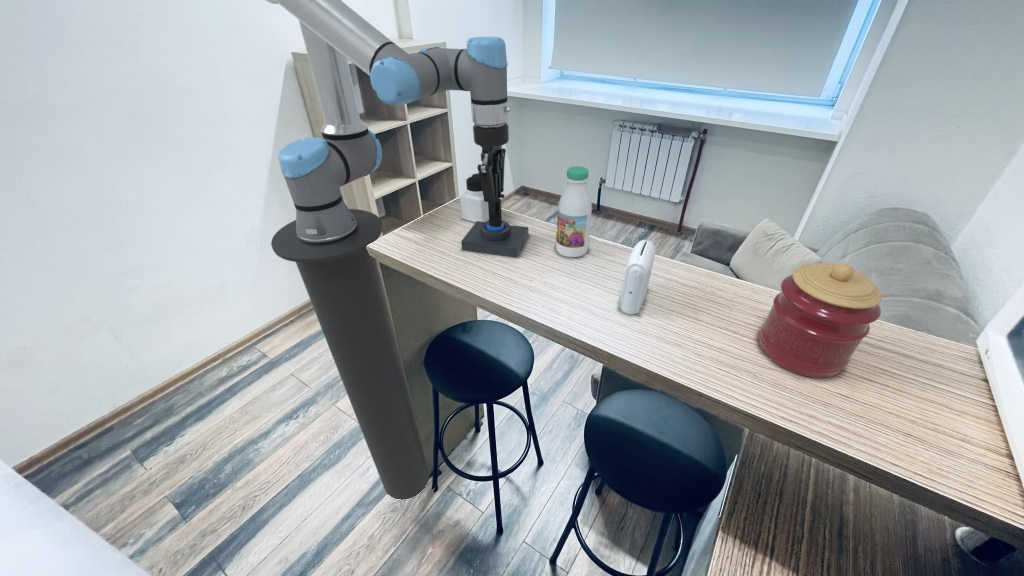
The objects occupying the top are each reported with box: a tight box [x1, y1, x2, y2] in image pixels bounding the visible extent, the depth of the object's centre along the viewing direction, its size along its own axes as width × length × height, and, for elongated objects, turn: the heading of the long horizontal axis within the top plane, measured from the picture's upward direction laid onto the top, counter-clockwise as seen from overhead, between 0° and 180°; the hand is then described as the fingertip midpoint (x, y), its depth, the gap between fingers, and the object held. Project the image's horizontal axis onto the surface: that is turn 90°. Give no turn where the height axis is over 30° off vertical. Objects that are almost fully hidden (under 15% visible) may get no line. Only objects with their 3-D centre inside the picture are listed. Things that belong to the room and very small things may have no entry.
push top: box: [486, 223, 504, 232], centre depth 100 cm, size 4×4×2 cm
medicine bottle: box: [459, 172, 489, 223], centre depth 111 cm, size 7×7×12 cm
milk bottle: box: [555, 166, 593, 258], centre depth 93 cm, size 8×8×20 cm
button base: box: [461, 220, 529, 258], centre depth 101 cm, size 14×11×4 cm
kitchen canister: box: [758, 262, 883, 379], centre depth 65 cm, size 13×13×18 cm
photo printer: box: [619, 239, 656, 315], centre depth 79 cm, size 10×4×12 cm, turn 155°
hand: (495, 224), depth 99 cm, fingers closed
